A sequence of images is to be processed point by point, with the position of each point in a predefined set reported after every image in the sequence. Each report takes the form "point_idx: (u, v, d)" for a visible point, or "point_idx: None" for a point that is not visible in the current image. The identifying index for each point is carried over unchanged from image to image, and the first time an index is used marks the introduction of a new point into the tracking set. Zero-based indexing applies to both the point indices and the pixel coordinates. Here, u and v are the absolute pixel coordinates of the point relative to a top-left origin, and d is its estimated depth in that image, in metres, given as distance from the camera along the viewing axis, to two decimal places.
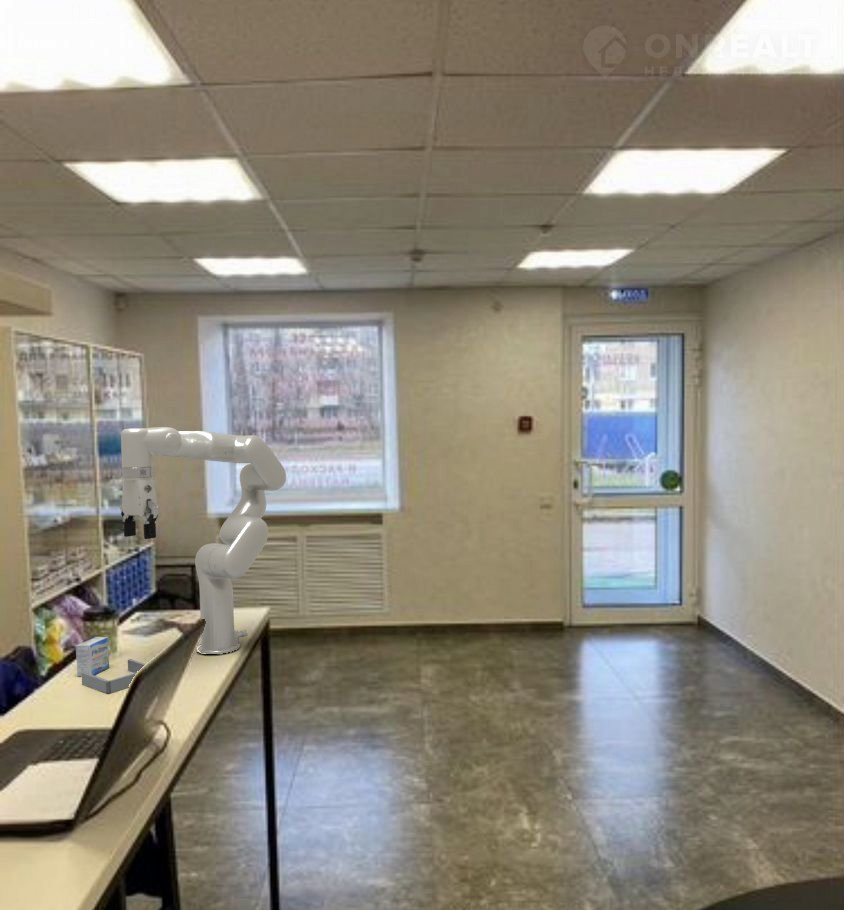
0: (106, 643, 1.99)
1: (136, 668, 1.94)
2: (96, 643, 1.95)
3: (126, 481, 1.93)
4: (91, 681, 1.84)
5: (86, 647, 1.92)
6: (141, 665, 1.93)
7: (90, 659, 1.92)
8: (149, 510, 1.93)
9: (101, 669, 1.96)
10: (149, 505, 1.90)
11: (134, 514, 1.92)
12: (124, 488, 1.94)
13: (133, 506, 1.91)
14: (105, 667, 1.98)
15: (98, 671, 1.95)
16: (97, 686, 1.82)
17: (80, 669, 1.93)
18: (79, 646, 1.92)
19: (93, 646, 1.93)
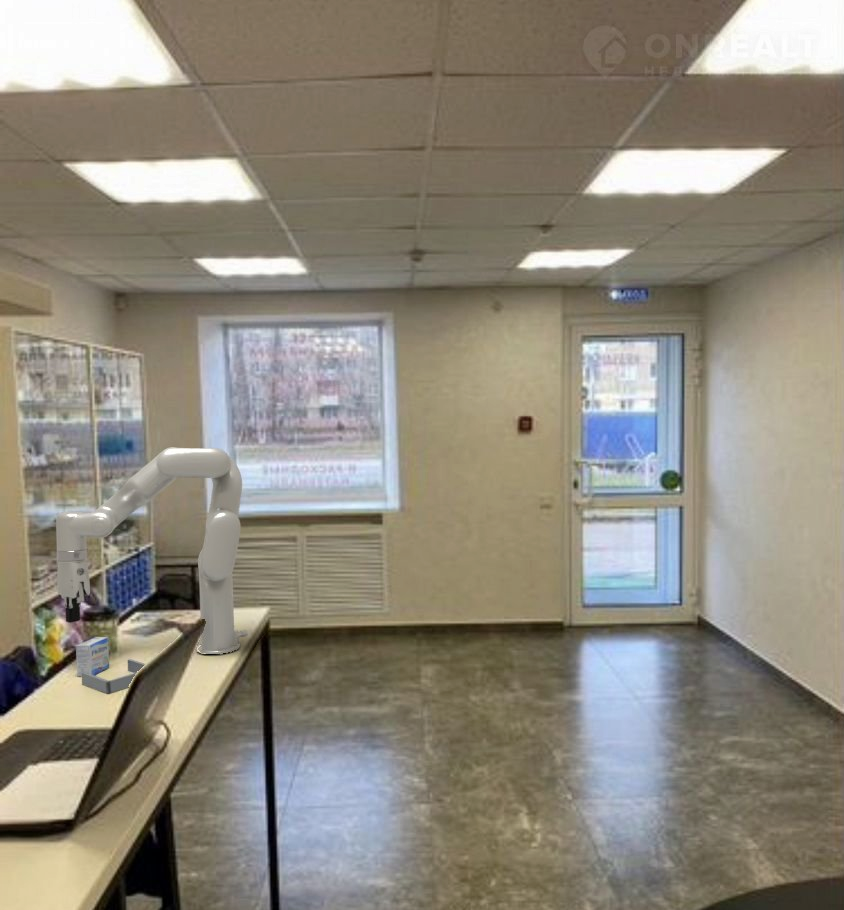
0: (106, 643, 1.99)
1: (136, 668, 1.94)
2: (96, 643, 1.95)
3: (60, 563, 2.00)
4: (91, 681, 1.84)
5: (86, 647, 1.92)
6: (141, 665, 1.93)
7: (90, 659, 1.92)
8: None
9: (101, 669, 1.96)
10: (79, 599, 1.98)
11: (67, 595, 1.99)
12: (58, 570, 2.01)
13: (66, 588, 1.98)
14: (105, 667, 1.98)
15: (98, 671, 1.95)
16: (97, 686, 1.82)
17: (80, 669, 1.93)
18: (79, 646, 1.92)
19: (93, 646, 1.93)
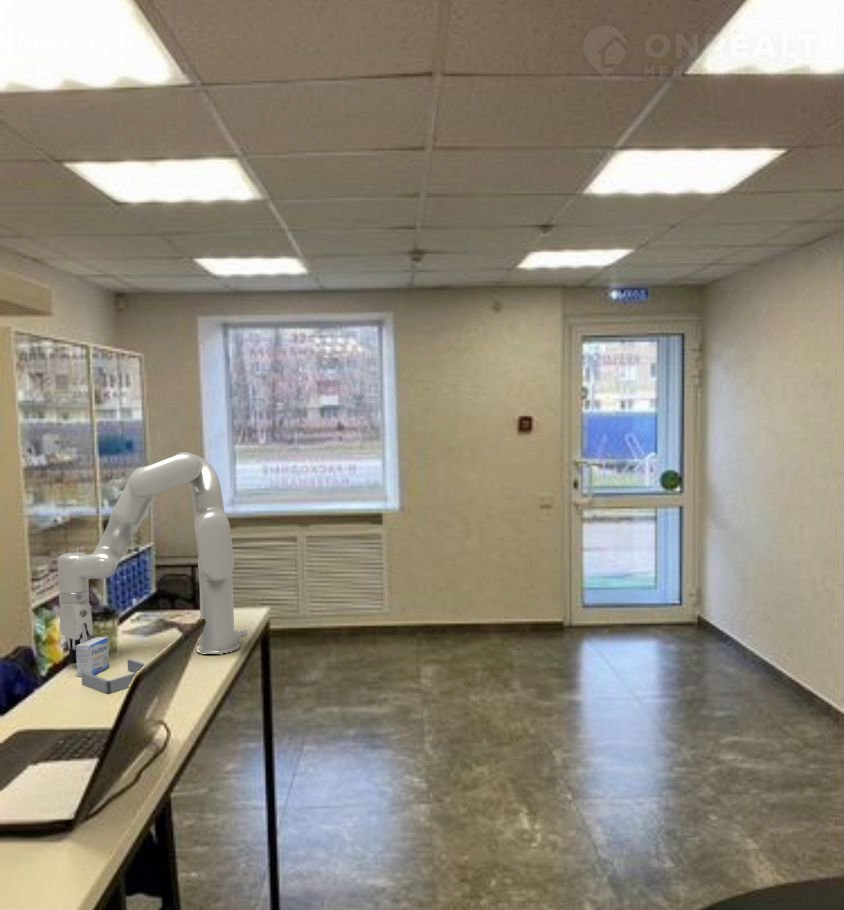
0: (106, 643, 1.99)
1: (136, 668, 1.94)
2: (96, 643, 1.95)
3: (63, 605, 2.00)
4: (91, 681, 1.84)
5: (86, 647, 1.92)
6: (141, 665, 1.93)
7: (90, 659, 1.92)
8: None
9: (101, 669, 1.96)
10: (82, 640, 1.98)
11: (70, 637, 1.99)
12: (61, 611, 2.01)
13: (69, 630, 1.99)
14: (105, 667, 1.98)
15: (98, 671, 1.95)
16: (97, 686, 1.82)
17: (80, 669, 1.93)
18: (79, 646, 1.92)
19: (93, 646, 1.93)
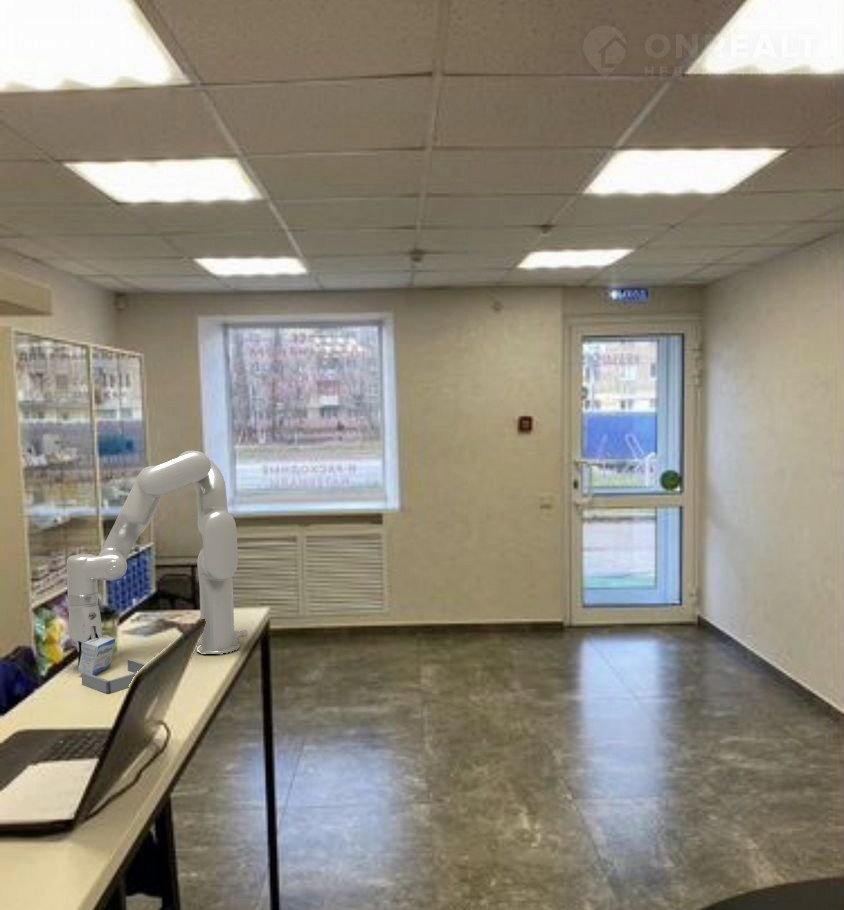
0: (112, 644, 1.98)
1: (136, 668, 1.94)
2: (104, 644, 1.94)
3: (72, 607, 1.97)
4: (91, 681, 1.84)
5: (93, 647, 1.92)
6: (141, 665, 1.93)
7: (94, 659, 1.92)
8: None
9: (102, 669, 1.96)
10: None
11: (79, 640, 1.96)
12: (70, 614, 1.98)
13: (78, 632, 1.96)
14: (106, 667, 1.98)
15: (99, 671, 1.95)
16: (97, 686, 1.82)
17: (82, 666, 1.92)
18: (87, 644, 1.92)
19: (100, 647, 1.93)
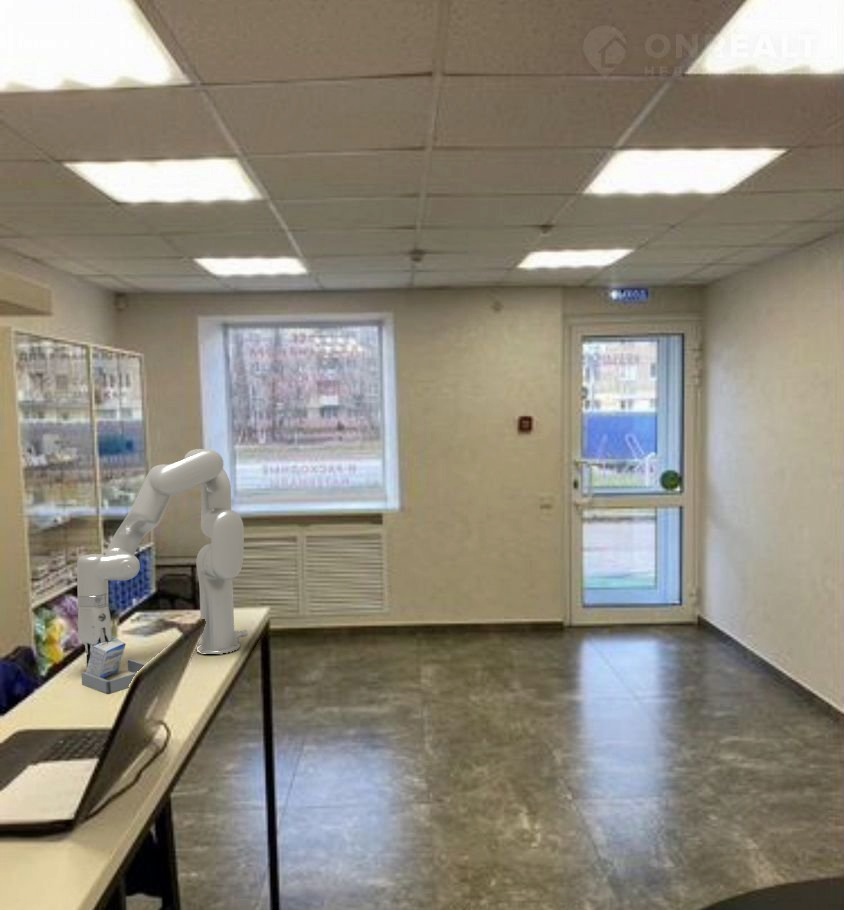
0: (122, 649, 1.94)
1: (136, 668, 1.94)
2: (113, 649, 1.90)
3: (81, 608, 1.93)
4: (91, 681, 1.84)
5: (102, 651, 1.88)
6: (141, 665, 1.93)
7: (102, 664, 1.88)
8: None
9: (109, 673, 1.92)
10: None
11: (88, 642, 1.92)
12: (79, 615, 1.94)
13: (87, 634, 1.92)
14: (114, 671, 1.94)
15: (106, 675, 1.91)
16: (97, 686, 1.82)
17: (90, 669, 1.89)
18: (96, 648, 1.88)
19: (109, 652, 1.89)
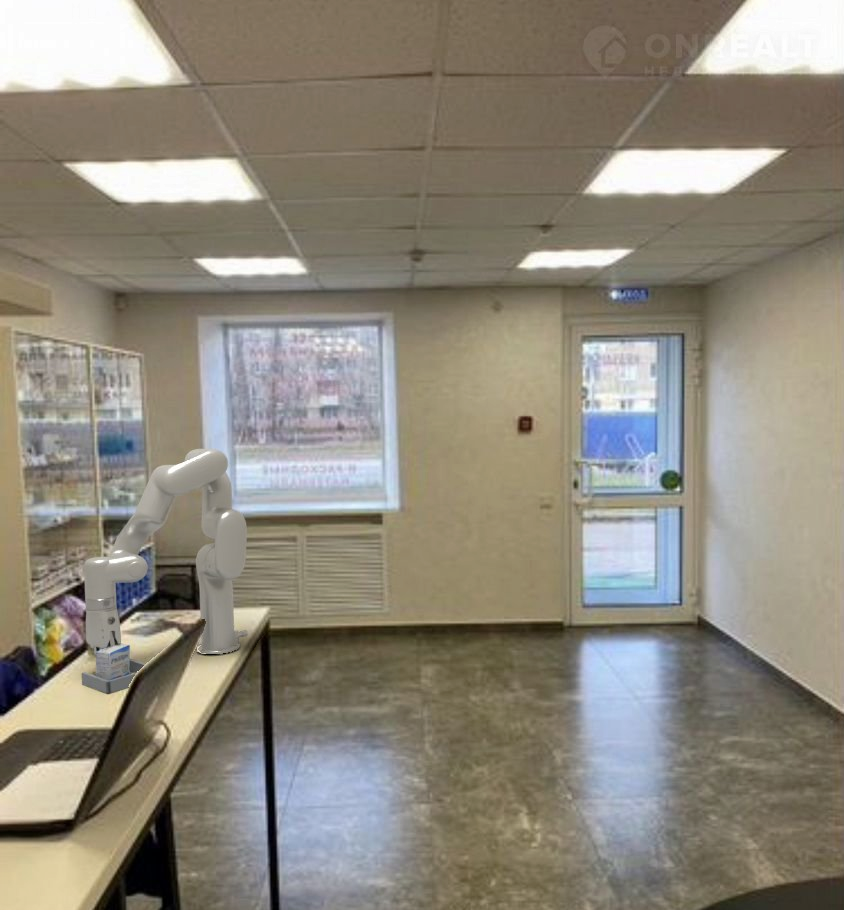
0: (127, 651, 1.91)
1: (136, 668, 1.94)
2: (117, 651, 1.87)
3: (89, 612, 1.91)
4: (91, 681, 1.84)
5: (106, 654, 1.84)
6: (141, 665, 1.93)
7: (109, 667, 1.84)
8: None
9: None
10: None
11: (97, 645, 1.90)
12: (87, 618, 1.92)
13: (96, 638, 1.90)
14: (125, 675, 1.90)
15: None
16: (97, 686, 1.82)
17: (99, 676, 1.85)
18: (99, 653, 1.85)
19: (113, 654, 1.85)
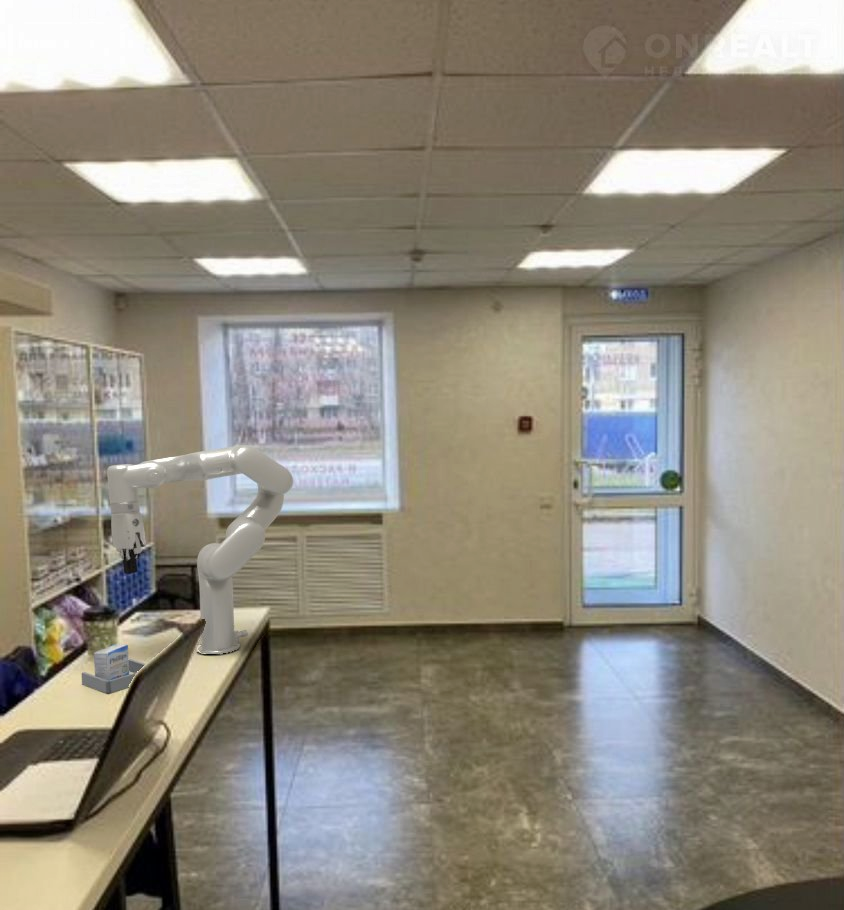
0: (126, 651, 1.91)
1: (136, 668, 1.94)
2: (114, 651, 1.87)
3: (114, 516, 2.00)
4: (91, 681, 1.84)
5: (104, 655, 1.85)
6: (141, 665, 1.93)
7: (107, 667, 1.84)
8: None
9: None
10: (136, 549, 1.99)
11: (124, 547, 2.00)
12: (113, 523, 2.02)
13: (122, 540, 1.99)
14: None
15: None
16: (97, 686, 1.82)
17: None
18: (97, 654, 1.85)
19: (111, 653, 1.86)
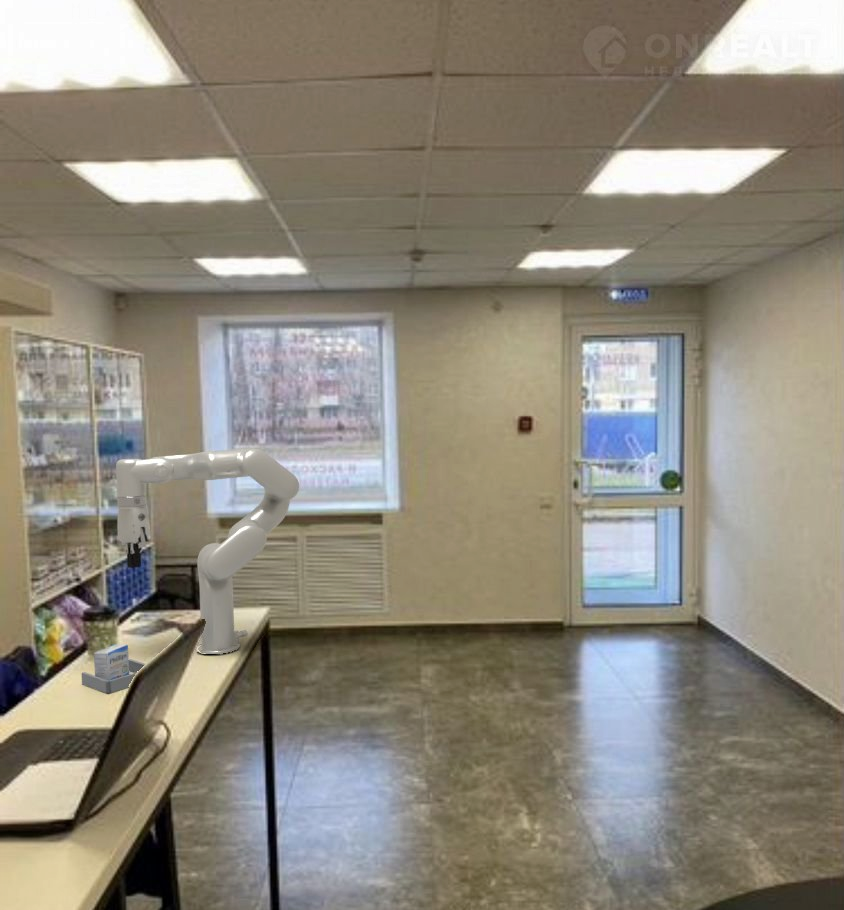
0: (126, 651, 1.91)
1: (136, 668, 1.94)
2: (115, 651, 1.87)
3: (121, 509, 2.02)
4: (91, 681, 1.84)
5: (104, 655, 1.85)
6: (141, 665, 1.93)
7: (107, 667, 1.84)
8: None
9: None
10: (140, 544, 2.00)
11: (128, 541, 2.01)
12: (119, 516, 2.03)
13: (128, 533, 2.01)
14: None
15: None
16: (97, 686, 1.82)
17: None
18: (97, 654, 1.85)
19: (111, 654, 1.86)
